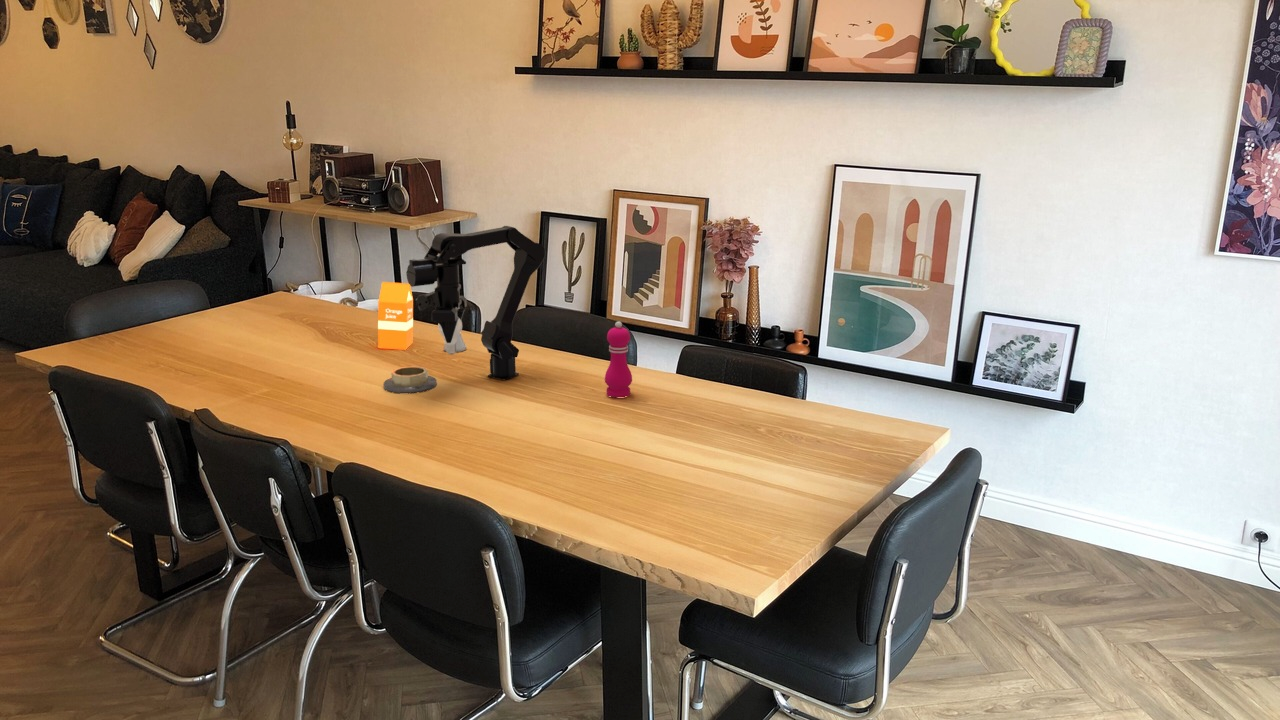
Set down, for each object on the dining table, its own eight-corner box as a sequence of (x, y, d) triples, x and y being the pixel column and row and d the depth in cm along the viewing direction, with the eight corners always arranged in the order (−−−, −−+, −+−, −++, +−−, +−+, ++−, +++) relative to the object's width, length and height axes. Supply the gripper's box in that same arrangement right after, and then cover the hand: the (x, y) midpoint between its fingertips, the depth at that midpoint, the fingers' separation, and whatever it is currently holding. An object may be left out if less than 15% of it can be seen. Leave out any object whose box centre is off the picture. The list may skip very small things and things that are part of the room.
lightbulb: (465, 350, 254) (463, 311, 251) (461, 357, 248) (459, 317, 245) (441, 351, 254) (439, 311, 251) (437, 357, 248) (435, 317, 245)
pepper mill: (608, 400, 243) (608, 325, 238) (602, 391, 250) (601, 318, 244) (635, 398, 245) (635, 323, 239) (628, 389, 252) (628, 317, 246)
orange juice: (406, 349, 288) (406, 285, 283) (377, 348, 288) (377, 283, 283) (413, 344, 295) (413, 281, 291) (385, 342, 295) (385, 279, 291)
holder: (447, 383, 256) (446, 369, 255) (411, 396, 244) (410, 382, 243) (409, 375, 263) (408, 361, 262) (372, 388, 251) (371, 373, 250)
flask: (469, 347, 292) (468, 315, 289) (463, 353, 285) (461, 321, 282) (447, 346, 292) (445, 315, 290) (440, 352, 285) (438, 320, 283)
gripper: (424, 275, 255) (427, 330, 259) (409, 289, 237) (412, 348, 241) (465, 275, 255) (468, 331, 259) (453, 289, 237) (456, 349, 241)
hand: (450, 339), depth 250 cm, fingers closed on lightbulb, 6 cm apart
